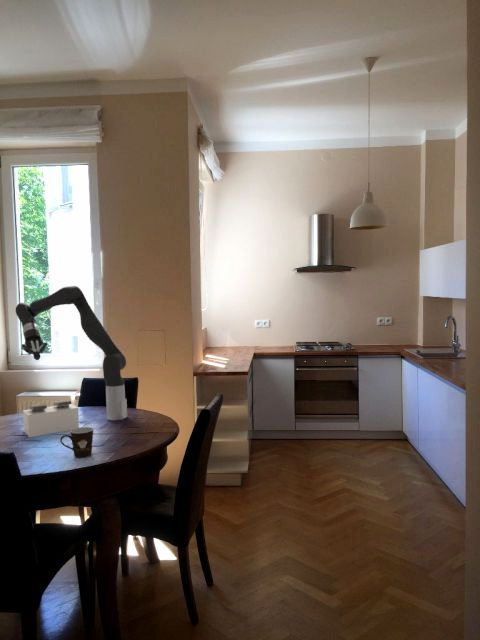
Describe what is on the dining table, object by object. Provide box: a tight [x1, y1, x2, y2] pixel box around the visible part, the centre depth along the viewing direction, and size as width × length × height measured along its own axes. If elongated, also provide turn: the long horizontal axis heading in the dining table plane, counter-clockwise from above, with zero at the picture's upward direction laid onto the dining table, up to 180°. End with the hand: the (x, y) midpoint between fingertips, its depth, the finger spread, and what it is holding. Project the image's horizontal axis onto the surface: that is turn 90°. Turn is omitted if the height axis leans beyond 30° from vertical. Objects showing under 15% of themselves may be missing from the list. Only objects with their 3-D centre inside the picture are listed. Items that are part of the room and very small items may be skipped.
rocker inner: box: [53, 400, 72, 406], centre depth 225 cm, size 6×8×2 cm
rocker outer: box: [28, 403, 48, 410], centre depth 219 cm, size 6×8×2 cm
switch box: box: [22, 403, 80, 438], centre depth 223 cm, size 22×12×11 cm, turn 125°
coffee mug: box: [59, 426, 94, 459], centre depth 185 cm, size 12×9×10 cm
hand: (37, 358), depth 237 cm, fingers closed
